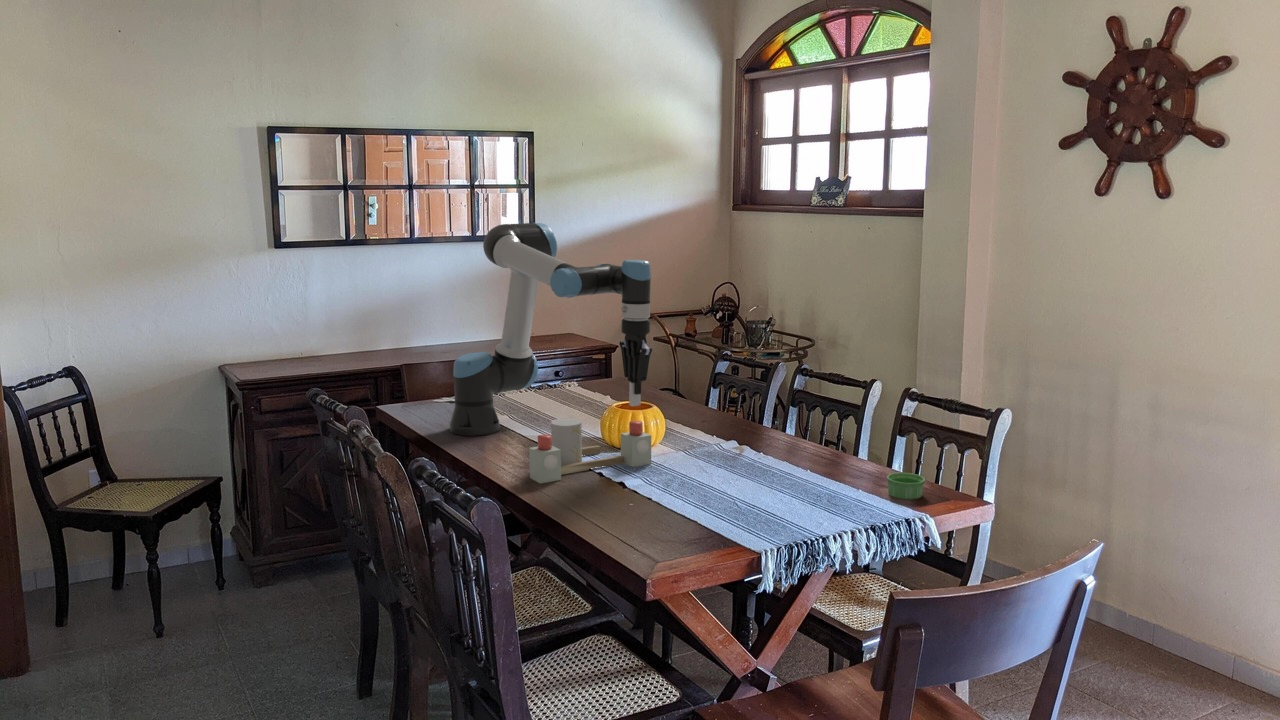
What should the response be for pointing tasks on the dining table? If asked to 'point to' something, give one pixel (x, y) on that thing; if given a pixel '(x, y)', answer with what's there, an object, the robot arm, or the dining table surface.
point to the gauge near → (544, 442)
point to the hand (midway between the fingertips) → (634, 405)
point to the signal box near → (545, 464)
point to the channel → (593, 463)
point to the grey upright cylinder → (567, 439)
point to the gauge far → (635, 427)
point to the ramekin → (905, 485)
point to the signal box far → (636, 449)
